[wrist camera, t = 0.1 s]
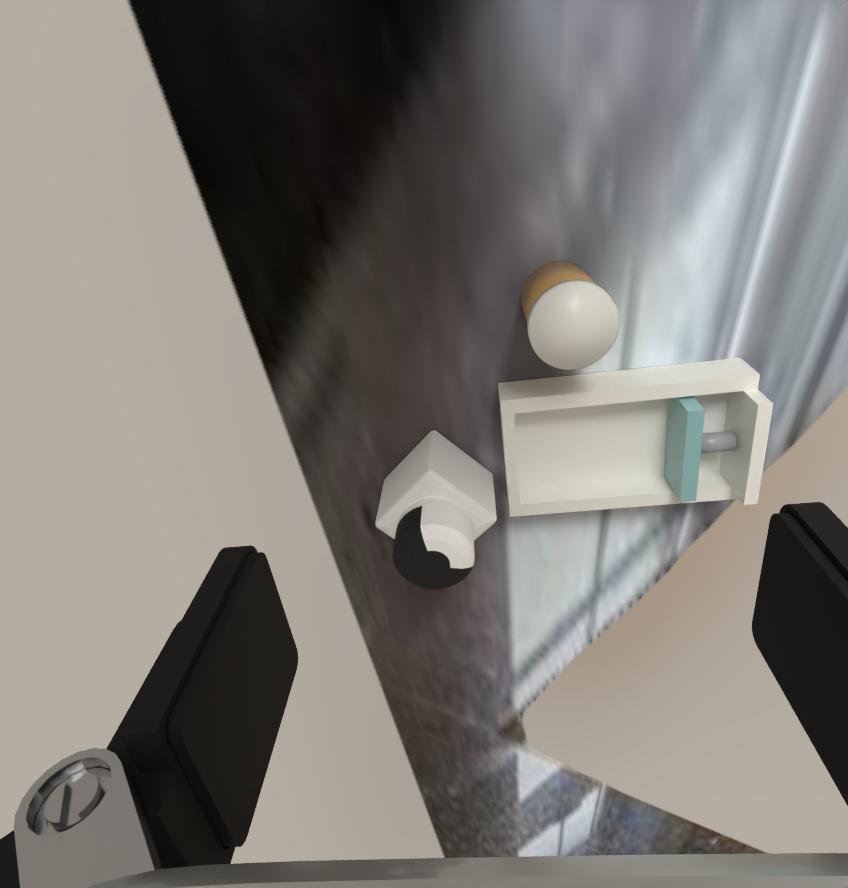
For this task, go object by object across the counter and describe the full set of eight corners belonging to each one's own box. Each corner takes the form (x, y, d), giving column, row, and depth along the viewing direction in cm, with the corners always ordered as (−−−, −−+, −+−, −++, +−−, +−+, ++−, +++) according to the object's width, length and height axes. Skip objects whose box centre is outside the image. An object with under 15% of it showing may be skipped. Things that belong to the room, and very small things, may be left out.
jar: (516, 263, 44) (526, 289, 37) (596, 253, 43) (620, 277, 37) (520, 338, 47) (530, 374, 40) (595, 329, 46) (618, 364, 40)
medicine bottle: (442, 521, 56) (438, 615, 45) (382, 479, 54) (364, 567, 43) (494, 473, 53) (503, 561, 42) (433, 426, 51) (426, 506, 40)
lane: (497, 383, 49) (502, 414, 43) (739, 357, 46) (775, 388, 41) (506, 494, 54) (512, 534, 49) (725, 476, 52) (755, 516, 46)
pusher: (670, 389, 47) (687, 411, 43) (727, 383, 46) (749, 405, 43) (664, 474, 50) (680, 502, 47) (717, 470, 50) (737, 497, 46)
